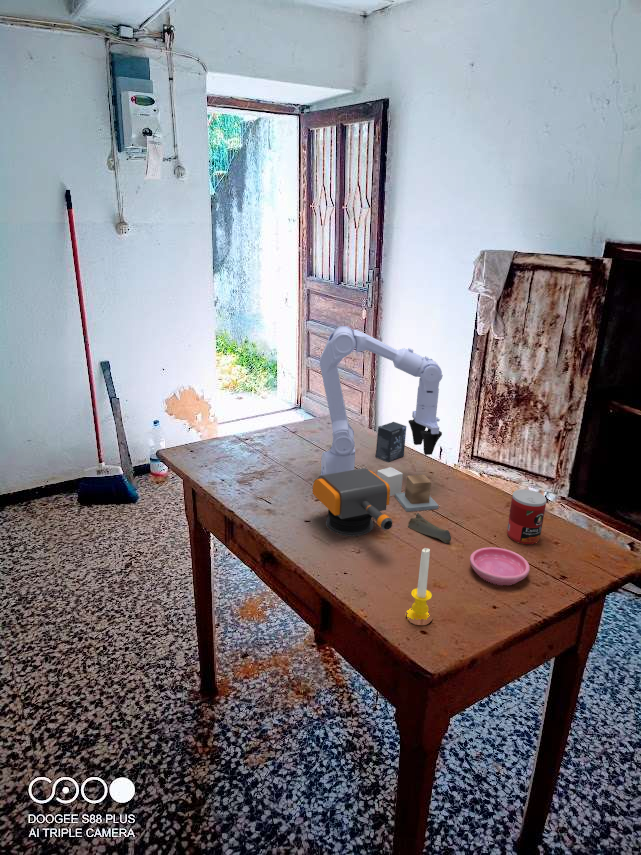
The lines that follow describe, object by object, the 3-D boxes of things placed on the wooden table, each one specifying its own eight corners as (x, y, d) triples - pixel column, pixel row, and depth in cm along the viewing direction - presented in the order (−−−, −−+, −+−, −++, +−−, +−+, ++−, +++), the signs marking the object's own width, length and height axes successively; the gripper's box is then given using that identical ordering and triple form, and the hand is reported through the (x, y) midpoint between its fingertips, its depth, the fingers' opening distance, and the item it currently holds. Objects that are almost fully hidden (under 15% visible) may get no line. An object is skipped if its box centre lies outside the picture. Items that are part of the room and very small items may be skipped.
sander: (357, 566, 131) (360, 515, 126) (310, 516, 152) (311, 470, 147) (413, 552, 137) (418, 503, 132) (361, 506, 158) (363, 462, 153)
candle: (405, 624, 112) (411, 553, 107) (406, 607, 117) (412, 538, 112) (432, 628, 112) (441, 556, 106) (432, 611, 117) (440, 541, 111)
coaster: (406, 511, 155) (406, 508, 155) (394, 496, 164) (394, 493, 163) (438, 508, 157) (438, 505, 157) (424, 493, 166) (425, 490, 165)
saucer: (457, 564, 133) (458, 552, 132) (501, 553, 138) (503, 542, 137) (493, 596, 122) (495, 582, 121) (540, 583, 127) (542, 570, 126)
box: (388, 462, 186) (391, 431, 183) (375, 457, 190) (377, 426, 186) (404, 456, 191) (407, 425, 188) (391, 451, 195) (393, 421, 192)
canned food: (523, 548, 140) (530, 506, 136) (499, 532, 146) (505, 492, 143) (546, 541, 143) (554, 500, 139) (522, 526, 150) (528, 486, 146)
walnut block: (411, 504, 157) (413, 483, 155) (404, 495, 162) (406, 475, 160) (429, 502, 158) (431, 482, 156) (422, 494, 163) (424, 474, 161)
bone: (404, 524, 149) (405, 512, 148) (419, 520, 152) (421, 508, 150) (437, 549, 139) (439, 536, 138) (453, 545, 141) (455, 531, 140)
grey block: (387, 496, 164) (388, 477, 161) (376, 490, 167) (377, 470, 165) (401, 492, 166) (402, 473, 164) (389, 486, 170) (391, 467, 168)
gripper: (451, 411, 159) (446, 458, 164) (429, 395, 172) (425, 439, 177) (427, 412, 157) (422, 459, 162) (407, 396, 171) (403, 440, 175)
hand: (422, 449), depth 169 cm, fingers open, 7 cm apart
